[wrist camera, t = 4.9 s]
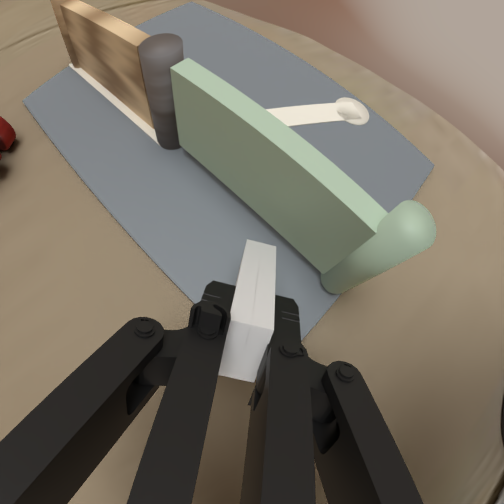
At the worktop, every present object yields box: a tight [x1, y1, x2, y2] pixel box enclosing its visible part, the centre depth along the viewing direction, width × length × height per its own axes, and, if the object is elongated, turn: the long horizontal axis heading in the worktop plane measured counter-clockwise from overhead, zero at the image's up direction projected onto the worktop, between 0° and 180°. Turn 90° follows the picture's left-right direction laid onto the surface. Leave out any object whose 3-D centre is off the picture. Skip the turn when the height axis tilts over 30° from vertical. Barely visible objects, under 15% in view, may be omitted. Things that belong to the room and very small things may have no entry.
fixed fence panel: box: [51, 0, 184, 150], centre depth 18 cm, size 17×2×10 cm, turn 47°
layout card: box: [23, 2, 434, 340], centre depth 23 cm, size 32×22×1 cm
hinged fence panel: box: [170, 58, 436, 294], centre depth 16 cm, size 14×2×9 cm, turn 47°
